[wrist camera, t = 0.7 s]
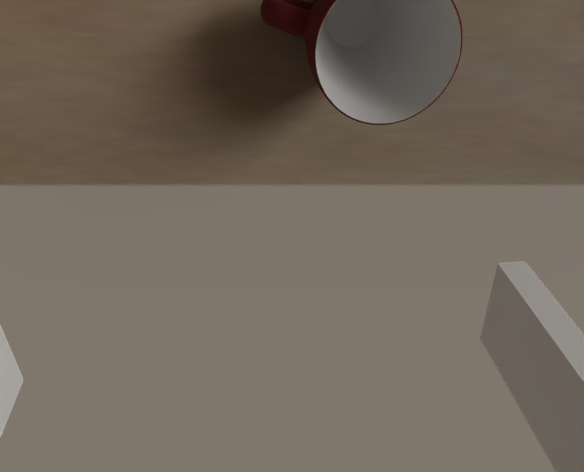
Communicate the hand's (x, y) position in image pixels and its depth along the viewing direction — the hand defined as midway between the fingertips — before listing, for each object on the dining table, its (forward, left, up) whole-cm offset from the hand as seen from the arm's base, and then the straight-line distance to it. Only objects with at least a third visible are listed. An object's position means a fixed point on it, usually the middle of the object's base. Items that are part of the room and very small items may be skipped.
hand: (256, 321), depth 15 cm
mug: (-3, +7, -28) cm, 29 cm away
